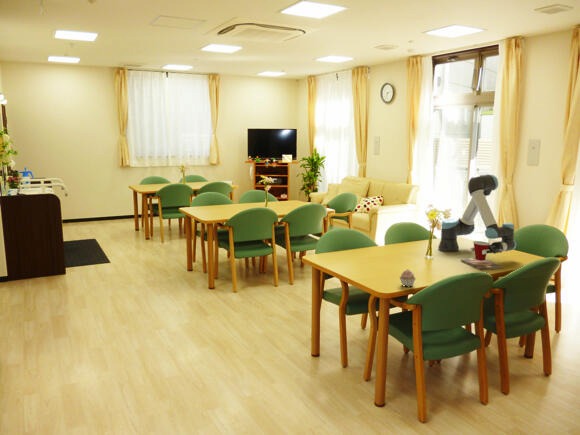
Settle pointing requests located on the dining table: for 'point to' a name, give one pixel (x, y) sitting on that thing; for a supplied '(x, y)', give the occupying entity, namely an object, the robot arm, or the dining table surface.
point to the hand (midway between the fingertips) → (476, 251)
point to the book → (481, 264)
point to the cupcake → (407, 278)
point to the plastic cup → (480, 249)
